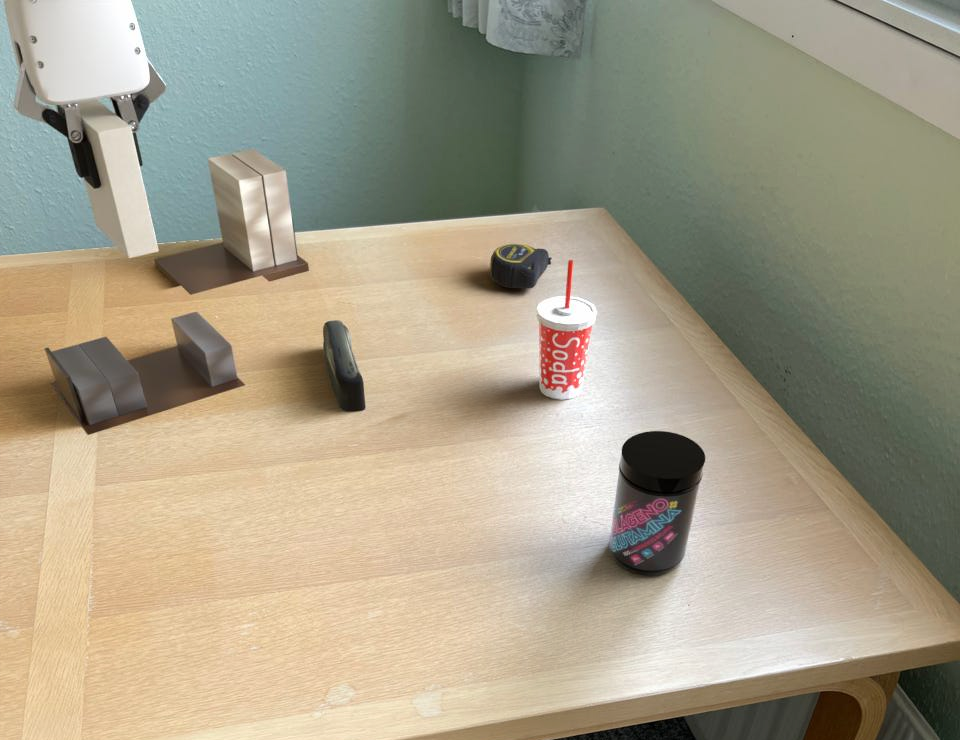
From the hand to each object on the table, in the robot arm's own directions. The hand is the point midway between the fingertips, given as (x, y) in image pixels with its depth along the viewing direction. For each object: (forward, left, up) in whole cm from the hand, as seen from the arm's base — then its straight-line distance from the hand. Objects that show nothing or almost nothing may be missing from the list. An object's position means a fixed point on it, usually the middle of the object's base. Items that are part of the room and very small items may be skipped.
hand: (112, 177), depth 89 cm
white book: (0, 0, -6) cm, 6 cm away
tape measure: (+47, -2, -21) cm, 52 cm away
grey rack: (-2, -1, -21) cm, 21 cm away
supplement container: (+24, -51, -21) cm, 61 cm away
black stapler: (+16, -11, -21) cm, 29 cm away
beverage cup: (+35, -25, -21) cm, 48 cm away
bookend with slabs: (+18, +22, -21) cm, 35 cm away
